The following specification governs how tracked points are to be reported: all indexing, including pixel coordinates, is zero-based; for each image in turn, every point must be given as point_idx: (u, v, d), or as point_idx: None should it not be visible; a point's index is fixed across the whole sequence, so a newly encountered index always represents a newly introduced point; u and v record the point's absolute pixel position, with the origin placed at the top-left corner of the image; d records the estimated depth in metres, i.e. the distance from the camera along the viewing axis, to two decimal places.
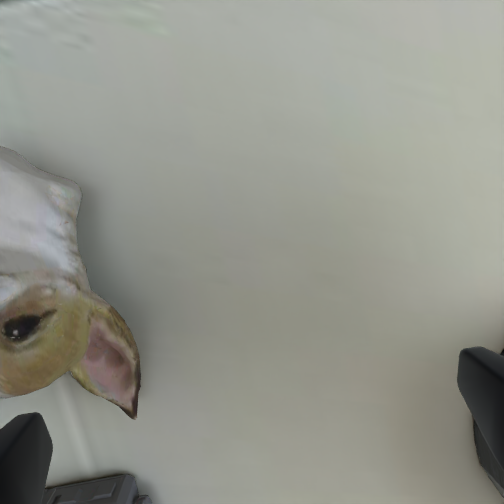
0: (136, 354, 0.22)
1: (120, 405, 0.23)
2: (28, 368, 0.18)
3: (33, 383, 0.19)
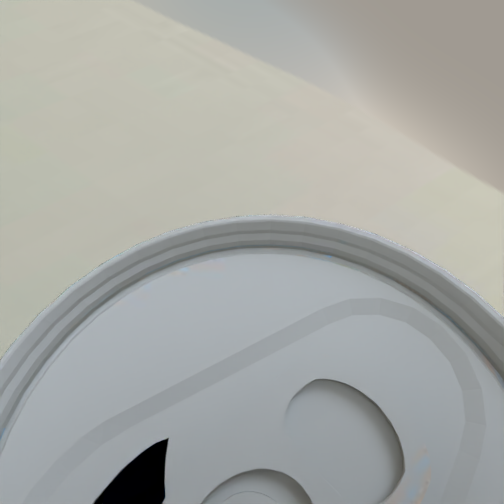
0: None
1: None
2: None
3: None
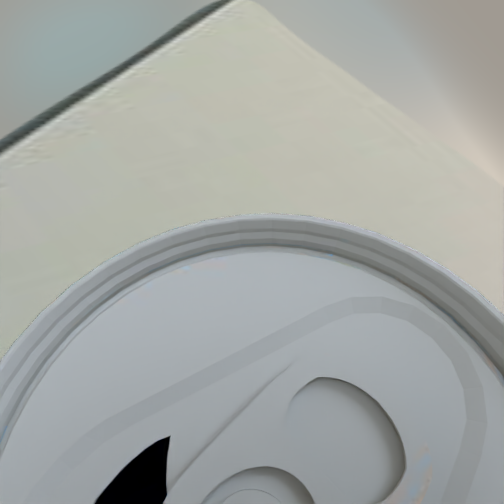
0: None
1: None
2: None
3: None
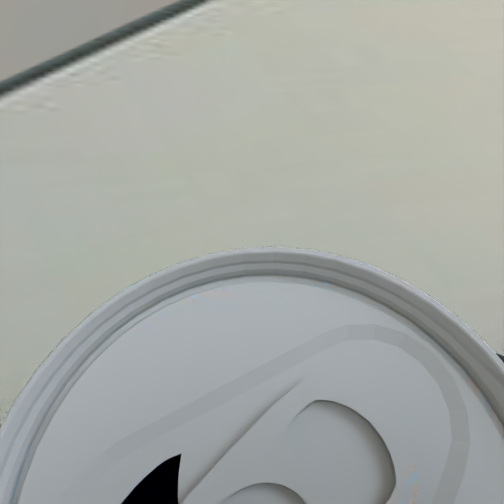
0: None
1: None
2: None
3: None
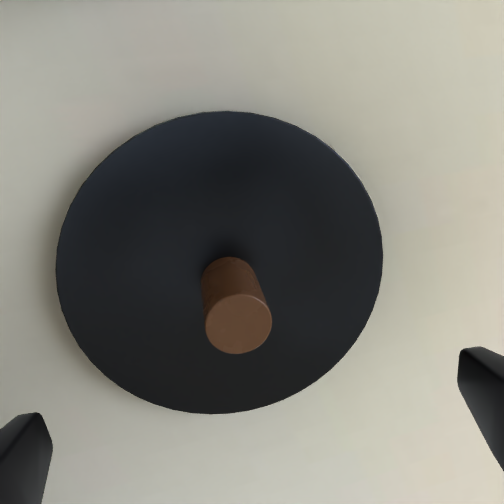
0: None
1: None
2: None
3: None
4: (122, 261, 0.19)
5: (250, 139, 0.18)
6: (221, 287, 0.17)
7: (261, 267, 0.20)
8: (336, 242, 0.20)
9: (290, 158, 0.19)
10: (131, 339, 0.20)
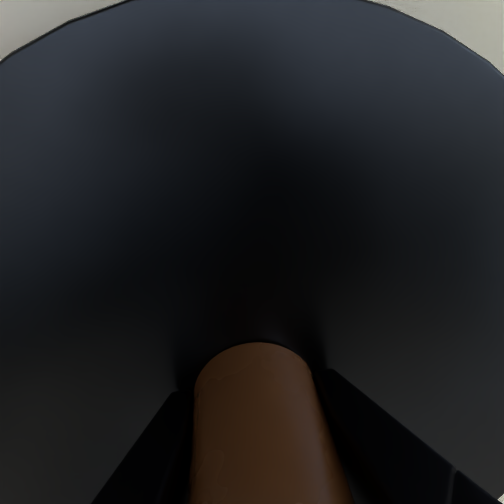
0: None
1: None
2: None
3: None
4: (17, 350, 0.08)
5: (322, 63, 0.07)
6: (235, 476, 0.06)
7: (326, 363, 0.09)
8: (498, 313, 0.09)
9: (417, 117, 0.07)
10: (52, 494, 0.10)
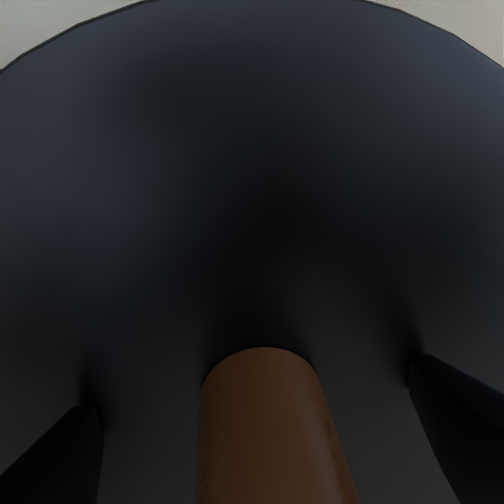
0: None
1: None
2: None
3: None
4: (22, 354, 0.08)
5: (332, 66, 0.07)
6: (243, 484, 0.06)
7: (334, 368, 0.09)
8: None
9: (428, 121, 0.07)
10: None
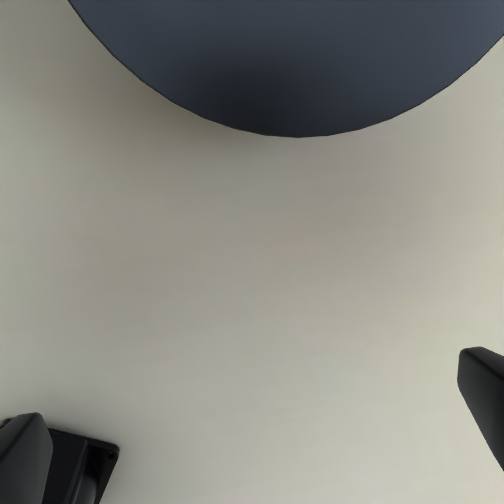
0: None
1: None
2: None
3: None
4: None
5: None
6: None
7: None
8: None
9: None
10: None
